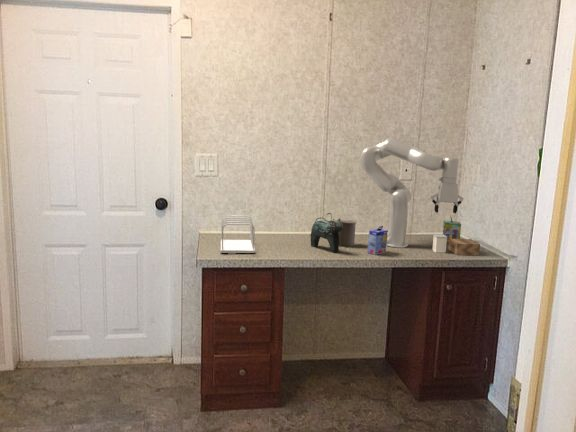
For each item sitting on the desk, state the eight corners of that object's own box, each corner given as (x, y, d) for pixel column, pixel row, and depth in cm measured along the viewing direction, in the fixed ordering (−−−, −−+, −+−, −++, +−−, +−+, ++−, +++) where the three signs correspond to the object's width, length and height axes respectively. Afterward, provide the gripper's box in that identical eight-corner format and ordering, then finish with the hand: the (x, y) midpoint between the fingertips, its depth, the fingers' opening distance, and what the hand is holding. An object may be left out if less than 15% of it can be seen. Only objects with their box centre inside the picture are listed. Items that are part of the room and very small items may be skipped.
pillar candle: (337, 247, 274) (339, 219, 271) (335, 242, 283) (337, 216, 281) (355, 247, 274) (357, 220, 271) (352, 243, 284) (354, 217, 281)
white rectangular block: (435, 252, 268) (436, 236, 267) (432, 250, 274) (433, 234, 272) (445, 252, 268) (447, 236, 267) (442, 250, 274) (443, 234, 272)
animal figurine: (342, 252, 262) (344, 214, 258) (333, 254, 258) (335, 215, 254) (315, 245, 277) (317, 209, 273) (307, 246, 272) (308, 210, 269)
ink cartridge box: (375, 255, 258) (377, 227, 256) (367, 253, 262) (368, 225, 259) (386, 252, 265) (388, 225, 263) (377, 250, 269) (379, 223, 266)
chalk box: (459, 243, 292) (462, 218, 289) (443, 242, 294) (445, 217, 291) (457, 240, 301) (460, 215, 298) (441, 239, 303) (443, 214, 300)
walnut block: (456, 254, 264) (457, 243, 263) (448, 249, 276) (449, 238, 275) (478, 255, 265) (480, 244, 264) (469, 249, 277) (470, 239, 276)
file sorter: (255, 254, 253) (256, 223, 250) (220, 254, 251) (220, 223, 248) (252, 243, 278) (252, 215, 275) (220, 242, 275) (220, 214, 273)
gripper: (434, 180, 262) (431, 213, 265) (467, 182, 262) (464, 214, 265) (430, 179, 269) (427, 210, 272) (462, 180, 270) (459, 212, 273)
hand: (445, 212), depth 269 cm, fingers open, 9 cm apart
